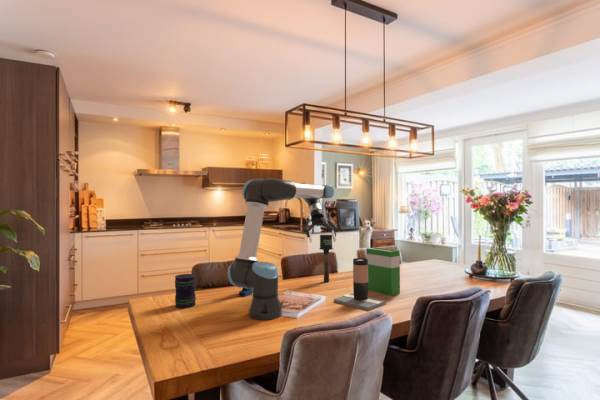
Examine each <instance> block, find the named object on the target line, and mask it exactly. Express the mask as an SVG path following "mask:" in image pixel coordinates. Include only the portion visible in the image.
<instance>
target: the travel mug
mask: <svg viewBox="0 0 600 400" xmlns="http://www.w3.org/2000/svg"><path fill="white" fill-rule="evenodd" d="M352 270H353V271H352V274H353V275H352V286H353V287H352V288H353V294H354V299H356V300H367V299H368V297H369V290H368V259H367V258H364V257H357V258H353V259H352Z"/></svg>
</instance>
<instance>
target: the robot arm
mask: <svg viewBox="0 0 600 400" xmlns="http://www.w3.org/2000/svg"><path fill="white" fill-rule="evenodd" d="M334 195H335V189H334V186H333V185H331V184H313V183H312V184H310V183H307V182H300V183H299V182H297V183H296V182H294V181H292V180H286V179H282V178H280V179H279V178H274V177H268V178H253V179H249V180H248V181H246V182H245V184H244V185H243V187H242V196H243V197H242V198H243V199H244V201H245V202H244V203H245V205H246V207H247V209H246V214H245V217H244V218H245V220H244V224H243V228H242V229H243V230H242V235H241V241H240V247H239V252H238V255H237V256H235V257H234V261H233V262H231V263H230V265H229V266H228V268H227V279H228V281H229V283H230V284H231V285H233V286H234V287H235V286H236V287H237V288H242V289H243V288H247V289H252V290H253V294H252V299H251V302H250V307H249V309H248V316H249V317H250V318H251V319H254V320H259V321H260V320H261V321H262V320H265V321H266V320H273V319H277V318H279V317H281V316H282V315H283V309H282V305H281V303H280V299H279V271H278V266H277V265H276V264H274V263H273V262H271V261H269V262H268V261H259V259H258V258H257V255H258V249H259V248H258V247H259V242H260V238H261V237H260V236H261V232H262V226H263V220H264V214H265V210H266V209H267V208H268V207H269V202H270V203H273V202H274V203H275V202H279V201H287V200H288V201H289V200H292V199H302V200H304V201H305V203H306V204H307V205H308V210H309V214H310V218H309V217H307V218H306V222H305V224H304V227H303V230H302V233H303V234H304V233H305V234H306V238H308V239H309V243H310V244H312V242H313V238H312V233H311V231H312V229H313V228H314V227H315V226H316V227H319V226H320V227H321V226H322V227H324V228H326V229H327V230H329V231H330V232H331V235H332V242H333V243H335V242H336V240H337V238H336V236H337V232H338V230H339V227H338V226H337V225H335V224H334V222H333V221H332V220H331V217H327V218H325V216H324V212H323V208H322V203H321V200H320V199H331V198H333V197H334ZM310 222H311V224H310V225H309V223H310Z"/></svg>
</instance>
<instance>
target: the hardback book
mask: <svg viewBox="0 0 600 400" xmlns="http://www.w3.org/2000/svg"><path fill="white" fill-rule="evenodd" d="M365 249H366V250H365V251H366V255H365V257H366V259H368V291H371V292H374V293H378V294H382V295H387V296H391V297H392V296H396V295H399V294H401V276H400V275H401V269H400V268H401V267H400V265H401V264H400V261H401V258H400V257H401V256H400V254H401V253H400V252H401V251H400V250H399V249H392V248H383V247H375V246H373V248H369V247H368V248H365Z"/></svg>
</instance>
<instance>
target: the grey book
mask: <svg viewBox="0 0 600 400" xmlns="http://www.w3.org/2000/svg"><path fill="white" fill-rule="evenodd" d="M333 303H337V304H341V305H344V306H348V307H353V308H356V309H361V310H362V311H363V310H364V311H367V312H369V311H371V310H375V309H377V308H380V307H382V306H384V305H386V300H383V299H379V298H373V297H369V296H368V299H367V300H356V299H354V293H346V294H344V295H341V296H338V297H336V298H333Z"/></svg>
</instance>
